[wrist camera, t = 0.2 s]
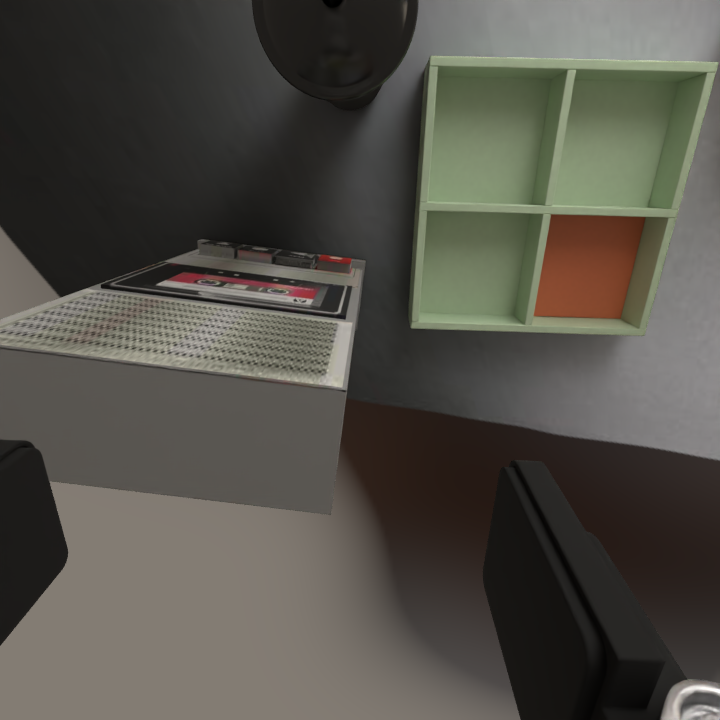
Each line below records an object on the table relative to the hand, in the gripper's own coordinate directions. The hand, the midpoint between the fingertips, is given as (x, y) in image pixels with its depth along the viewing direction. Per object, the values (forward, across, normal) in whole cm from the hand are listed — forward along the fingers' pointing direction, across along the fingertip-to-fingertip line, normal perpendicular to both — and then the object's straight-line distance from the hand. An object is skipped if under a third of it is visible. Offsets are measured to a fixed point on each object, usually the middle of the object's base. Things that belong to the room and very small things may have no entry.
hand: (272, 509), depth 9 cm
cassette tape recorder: (+31, +6, +2) cm, 32 cm away
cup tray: (+31, -15, -5) cm, 35 cm away
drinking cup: (+31, 0, -14) cm, 34 cm away
